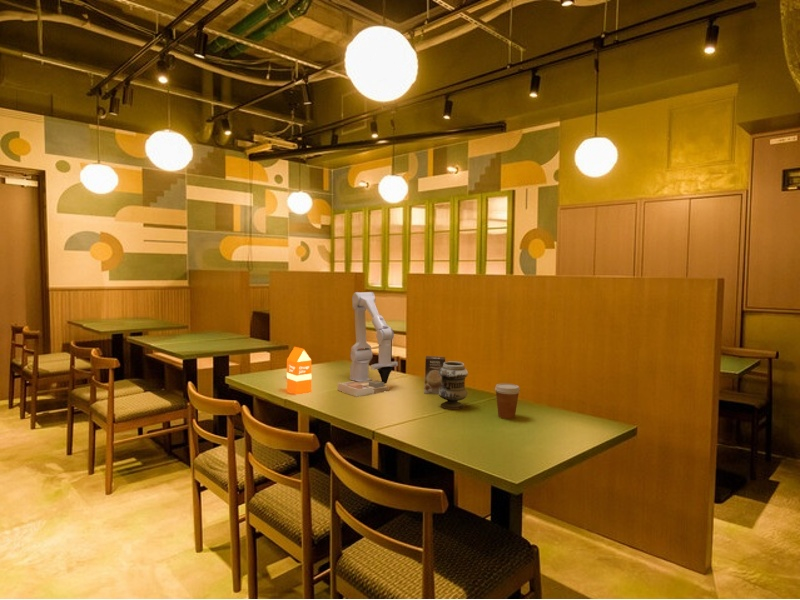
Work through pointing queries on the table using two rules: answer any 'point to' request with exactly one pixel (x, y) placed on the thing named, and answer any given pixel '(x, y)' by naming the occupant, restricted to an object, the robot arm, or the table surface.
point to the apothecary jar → (453, 384)
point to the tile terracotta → (355, 385)
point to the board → (376, 390)
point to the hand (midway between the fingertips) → (384, 383)
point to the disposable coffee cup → (507, 399)
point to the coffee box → (433, 374)
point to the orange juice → (299, 372)
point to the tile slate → (376, 384)
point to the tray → (354, 389)
